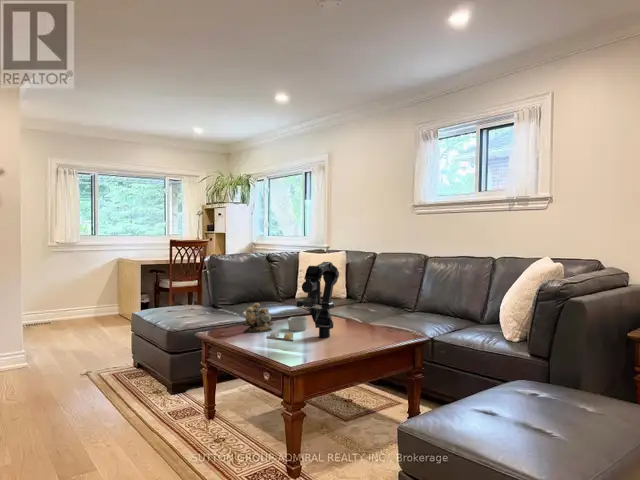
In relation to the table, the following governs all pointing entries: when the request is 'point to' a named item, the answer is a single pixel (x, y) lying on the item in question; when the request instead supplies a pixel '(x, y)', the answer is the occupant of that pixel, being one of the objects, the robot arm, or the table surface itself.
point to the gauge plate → (280, 338)
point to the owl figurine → (257, 319)
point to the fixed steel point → (274, 334)
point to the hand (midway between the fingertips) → (314, 321)
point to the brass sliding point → (288, 335)
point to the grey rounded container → (297, 323)
